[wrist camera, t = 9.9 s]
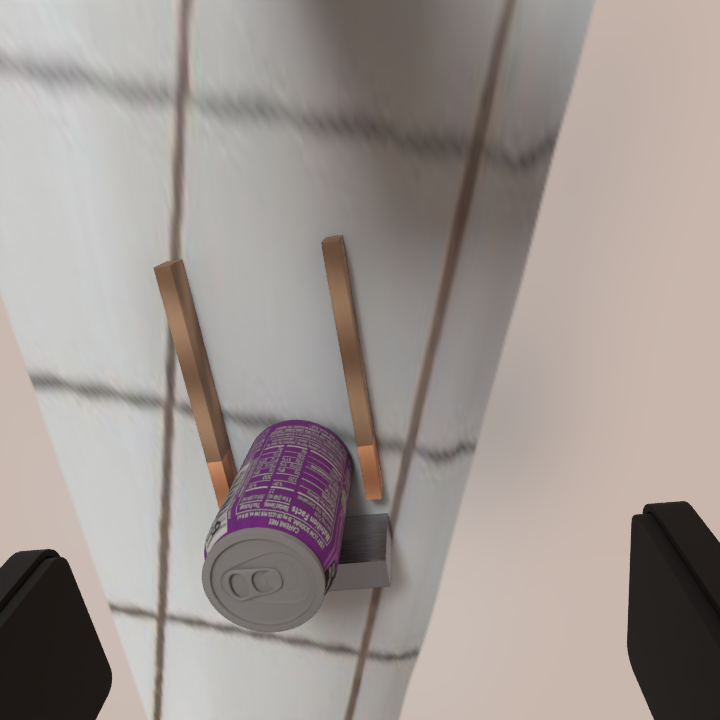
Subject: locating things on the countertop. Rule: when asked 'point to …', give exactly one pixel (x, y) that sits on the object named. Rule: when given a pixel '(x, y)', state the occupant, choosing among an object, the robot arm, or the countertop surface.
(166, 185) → the countertop surface
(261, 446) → the beverage can
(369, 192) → the countertop surface
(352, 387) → the guide channel
